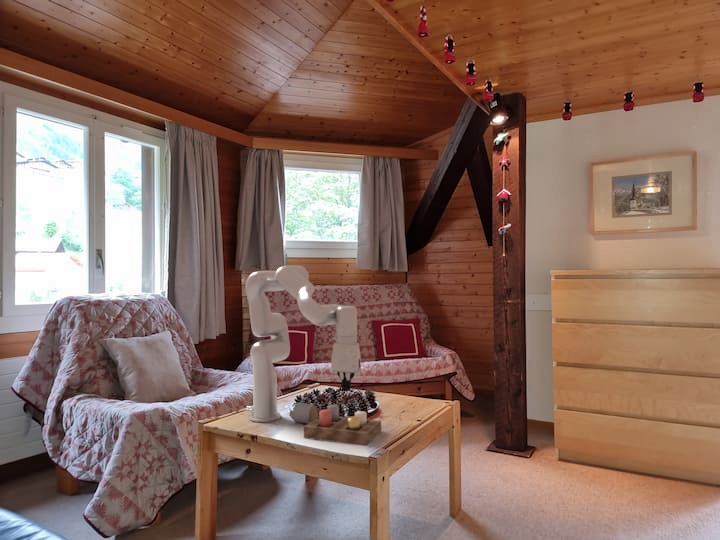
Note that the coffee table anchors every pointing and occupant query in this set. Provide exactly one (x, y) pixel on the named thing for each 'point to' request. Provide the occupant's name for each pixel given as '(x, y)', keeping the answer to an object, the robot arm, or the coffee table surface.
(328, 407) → the gray block
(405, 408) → the coffee table surface
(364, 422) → the cream white block
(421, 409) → the coffee table surface
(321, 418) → the pink cylinder
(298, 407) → the ceramic mug
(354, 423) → the gold round piece
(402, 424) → the coffee table surface
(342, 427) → the box
